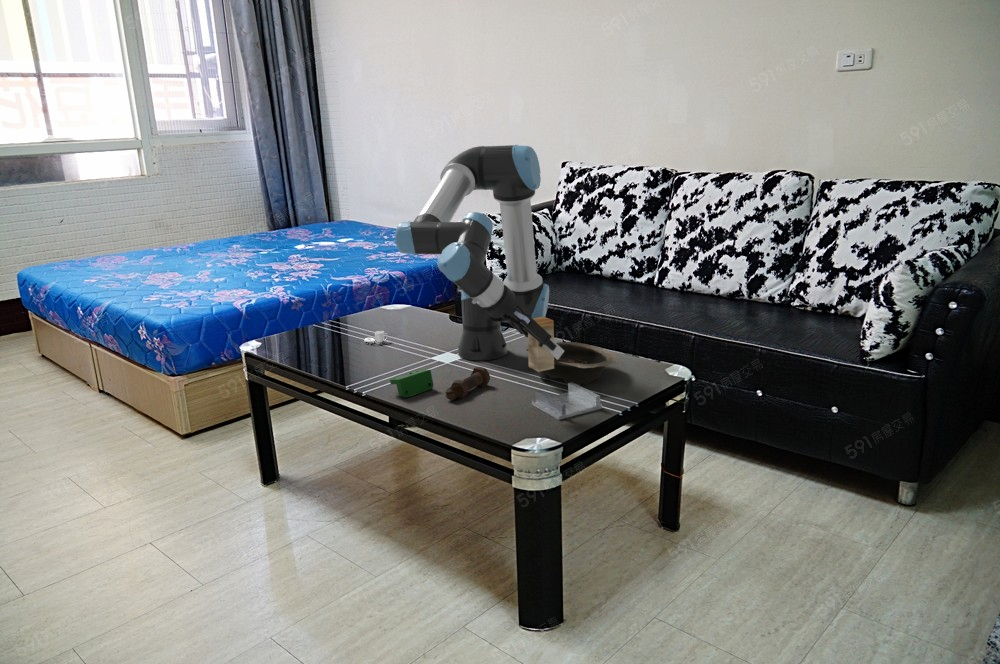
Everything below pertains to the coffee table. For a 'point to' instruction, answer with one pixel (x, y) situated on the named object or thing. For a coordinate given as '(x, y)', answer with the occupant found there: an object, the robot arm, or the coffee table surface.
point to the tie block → (541, 348)
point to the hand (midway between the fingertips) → (554, 352)
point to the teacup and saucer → (377, 337)
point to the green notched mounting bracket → (413, 383)
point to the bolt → (468, 383)
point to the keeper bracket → (568, 402)
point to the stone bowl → (579, 363)
